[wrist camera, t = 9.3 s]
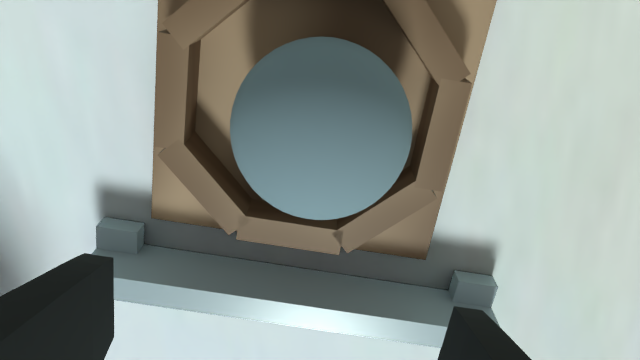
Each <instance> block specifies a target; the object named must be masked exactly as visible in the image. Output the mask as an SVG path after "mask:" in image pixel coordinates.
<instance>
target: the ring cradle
mask: <svg viewBox="0 0 640 360" xmlns="http://www.w3.org/2000/svg"><path fill="white" fill-rule="evenodd" d="M496 1H497V0H158V20H157V52H156V84H155V116H154V148H153V180H152V212H151V218H154V219H160V220H167V221H173V222H180V223H187V224H193V225H200V226H206V227H213V228H219V229H223V230H224V231H225V232H226V233H227V234H228V235H230V234H231V233H233V232H234V231H237V237H236V240H243V241H249V242H256V243H262V244H269V245H276V246H282V247H289V248H295V249H302V250H308V251H315V252H322V253H328V254H335V255H339V253H340V248H341V247H343V249H344V250H345V251H346V252H347V253H349V252H351V251H352V250H354V249H357V250H364V251H370V252H377V253H383V254H390V255H396V256H403V257H410V258H416V259H423V260H426V256H427V253H428V249H429V245H430V242H431V238H432V235H433V231H434V227H435V224H436V220H437V216H438V213H439V209H440V205H441V202H442V198H443V194H444V191H445V187H446V183H447V180H448V176H449V172H450V169H451V165H452V162H453V158H454V154H455V151H456V147H457V143H458V140H459V136H460V132H461V129H462V125H463V121H464V118H465V114H466V110H467V107H468V103H469V99H470V96H471V92H472V88H473V85H474V81H475V78H476V74H477V70H478V67H479V63H480V59H481V56H482V52H483V48H484V45H485V41H486V37H487V34H488V30H489V26H490V23H491V19H492V15H493V12H494V8H495V5H496ZM321 36H322V37H334V38H339V39H344V40H347V41H350V42H353V43H355V44H358V45H360V46H362V47H364V48H366V49H368V50H370V51H371V52H372V53H374V54H375V55H377V56H378V57H379V58H380V59H381V60H382V61H383V62H384V63H385V64H387V65H388V67H389V68H390V69H391V70H392V71H393V73H394V74H395V75H396V77H397V78H398V80H399V81H400V83H401V85H402V87H403V89H404V91H405V94H406V96H407V99H408V102H409V106H410V110H411V116H412V141H411V147H410V151H409V155H408V158H407V161H406V163H405V165H404V167H403V170H402V172H401V173H400V175H399V177H398V178H397V180H396V181H395V183H394V184H393V185H392V187H391V188H390V189H389V190H388V191H387V192H386V193H385V194H384V195H383V196H382V197H381V198H380V199H379V200H377V201H376V202H375V203H373V204H372V205H370V206H369V207H367V208H366V209H364V210H362V211H359V212H357V213H355V214H352V215H349V216H346V217H342V218H338V219H330V220H313V219H305V218H301V217H297V216H293V215H290V214H288V213H285V212H283V211H281V210H279V209H277V208H275V207H273V206H272V205H271V204H269V203H268V202H267V201H265V200H264V199H262V198H261V197H260V196H259V195H258V194H257V193H256V192H255V191H254V190H253V189H252V187H251V186H250V185H249V184H248V182H247V181H246V179H245V178H244V176H243V174H242V173H241V171H240V169H239V167H238V165H237V162H236V160H235V157H234V153H233V150H232V145H231V137H230V118H231V112H232V107H233V104H234V100H235V97H236V94H237V92H238V90H239V88H240V85H241V83H242V82H243V80H244V79H245V77H246V76H247V74H248V73H249V72H250V70H251V69H252V68H253V67H254V66H255V65H256V64H257V63H258V62H259V61H260V60H261V59H262V58H263V57H264V56H266V55H267V54H269V53H270V52H272V51H273V50H274V49H276V48H278V47H280V46H282V45H284V44H286V43H289V42H292V41H295V40H298V39H303V38H308V37H321Z"/></svg>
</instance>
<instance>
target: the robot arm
mask: <svg viewBox="0 0 640 360" xmlns="http://www.w3.org/2000/svg"><path fill="white" fill-rule="evenodd" d="M113 338H114V258H113V257H106V256H99V255H92V254H85V253H84V254H82V255H80V256H77V257H75V258H73V259H71V260H69V261H67V262H65V263H63V264H61V265H59V266H58V267H56V268H54V269H52V270H50V271H48V272H46V273H44V274H42V275H41V276H39V277H37V278H35V279H33V280H31V281H29V282H27V283H25V284H23V285H22V286H20V287H18V288H16V289H14V290H12V291H10V292H8V293H6V294H4V295H2V296H0V360H104V358H105V356H106V354H107V351H108V349H109V347H110V345H111V342H112V340H113ZM438 360H531V359H530V358H529V357H528V356H527V355H526V354H525V353H524V352H523V351H522V350H521V348H520V347H519V346H518V345H517V344H516V343H515V342H514V341H513V340H512V339H511V338H510V337H509V336H508V335H507V334H506V333H505V332H504V331H503V330H502V329H501V328H500V327H499V326H498V325H497V324H496V323H495V322H494V321H493V320H492V319H491V318H490V317H489V316H488V315H487V314H486V313H485V312H484V311H483V310H478V309H471V308H464V307H457V306H454V307H453V311H452V314H451V317H450V321H449V324H448V327H447V330H446V334H445V337H444V340H443V344H442V347H441V350H440V354H439V357H438Z"/></svg>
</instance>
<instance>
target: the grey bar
mask: <svg viewBox="0 0 640 360" xmlns="http://www.w3.org/2000/svg"><path fill="white" fill-rule="evenodd" d="M92 255H99V256H106V257H113V258H114V300H117V301H124V302H131V303H138V304H145V305H151V306H158V307H165V308H172V309H179V310H185V311H192V312H199V313H206V314H213V315H219V316H226V317H233V318H240V319H246V320H253V321H260V322H267V323H274V324H280V325H287V326H294V327H301V328H308V329H314V330H321V331H328V332H335V333H342V334H348V335H355V336H362V337H369V338H375V339H382V340H389V341H396V342H403V343H409V344H416V345H423V346H430V347H437V348H441V347H442V344H443V340H444V337H445V334H446V330H447V327H448V324H449V321H450V317H451V314H452V311H453V307H454V306H457V307H464V308H471V309H478V310H483V311H484V312H485V313H486V314H487V315H488V316H489V317H490V318H491V319H492V320H493V321H494V322H495V323H496V324H497V325H498V326H499V324H498V322H497V320H496V317H495V315H494V313H493V311H492V309H491V306H492V303H493V301H494V298H495V295H496V292H497V289H498V286H497V284H496V282H495V280H494V278H493V276H489V275H482V274H476V273H469V272H463V271H456V270H454V274H453V277H452V280H451V283H450V287H449V290H443V289H436V288H429V287H423V286H416V285H409V284H403V283H396V282H389V281H383V280H376V279H370V278H363V277H356V276H350V275H343V274H336V273H330V272H323V271H317V270H310V269H303V268H297V267H290V266H283V265H277V264H270V263H264V262H257V261H250V260H244V259H237V258H230V257H224V256H217V255H211V254H204V253H197V252H191V251H184V250H177V249H171V248H164V247H158V246H151V245H144V223H141V222H134V221H127V220H121V219H114V218H108V217H104V219H103V220H102V221H101V222H100V223H99V224H98V225H97V226H96V250H95V251H94V252H93V253H92ZM499 327H500V326H499Z"/></svg>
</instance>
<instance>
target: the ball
mask: <svg viewBox="0 0 640 360" xmlns="http://www.w3.org/2000/svg"><path fill="white" fill-rule="evenodd" d="M230 137H231V145H232V150H233V153H234V157H235V160H236V162H237V165H238V167H239V169H240V171H241V173H242V174H243V176H244V178H245V179H246V181H247V182H248V184H249V185H250V186H251V187H252V189H253V190H254V191H255V192H256V193H257V194H258V195H259V196H260V197H261V198H262V199H264V200H265V201H267V202H268V203H269V204H271V205H272V206H273V207H275V208H277V209H279V210H281V211H283V212H285V213H288V214H290V215H293V216H297V217H301V218H305V219H313V220H330V219H338V218H342V217H346V216H349V215H352V214H355V213H357V212H359V211H362V210H364V209H366V208H367V207H369V206H370V205H372V204H373V203H375V202H376V201H377V200H379V199H380V198H381V197H382V196H383V195H384V194H385V193H386V192H387V191H388V190H389V189H390V188H391V187H392V185H393V184H394V183H395V181H396V180H397V178H398V177H399V175H400V173H401V172H402V170H403V167H404V165H405V163H406V161H407V158H408V155H409V151H410V147H411V141H412V116H411V110H410V106H409V102H408V99H407V96H406V94H405V91H404V89H403V87H402V85H401V83H400V81H399V80H398V78H397V77H396V75H395V74H394V73H393V71H392V70H391V69H390V68H389V67H388V65H387V64H385V63H384V62H383V61H382V60H381V59H380V58H379V57H378V56H377V55H375V54H374V53H372V52H371V51H370V50H368V49H366V48H364V47H362V46H360V45H358V44H355V43H353V42H350V41H347V40H344V39H339V38H334V37H322V36H321V37H308V38H303V39H298V40H295V41H292V42H289V43H286V44H284V45H282V46H280V47H278V48H276V49H274V50H273V51H272V52H270V53H269V54H267V55H266V56H264V57H263V58H262V59H261V60H260V61H259V62H258V63H257V64H256V65H255V66H254V67H253V68H252V69H251V70H250V72H249V73H248V74H247V76H246V77H245V79H244V80H243V82H242V83H241V85H240V88H239V90H238V92H237V94H236V97H235V100H234V104H233V107H232V112H231V118H230Z"/></svg>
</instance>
